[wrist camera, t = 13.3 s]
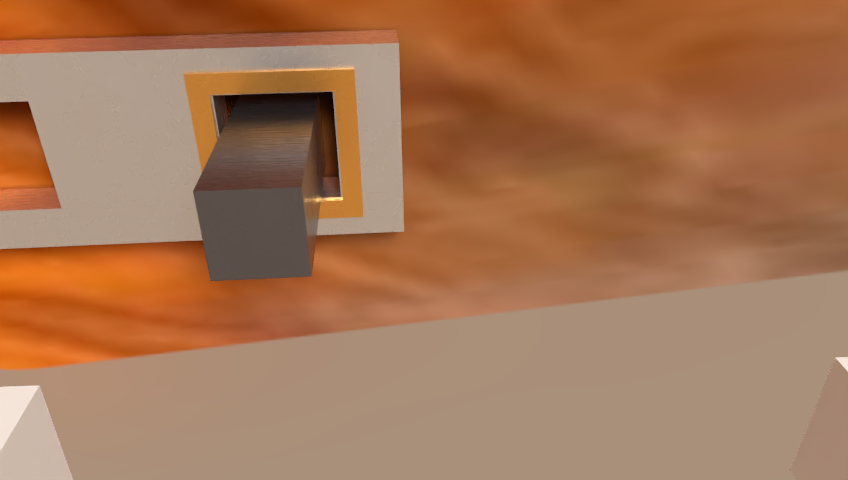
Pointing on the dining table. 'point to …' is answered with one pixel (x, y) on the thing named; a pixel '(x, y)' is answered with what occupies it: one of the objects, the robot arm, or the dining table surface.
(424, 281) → the dining table surface
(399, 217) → the grey peg hole board
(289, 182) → the steel peg
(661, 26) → the dining table surface
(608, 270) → the dining table surface
